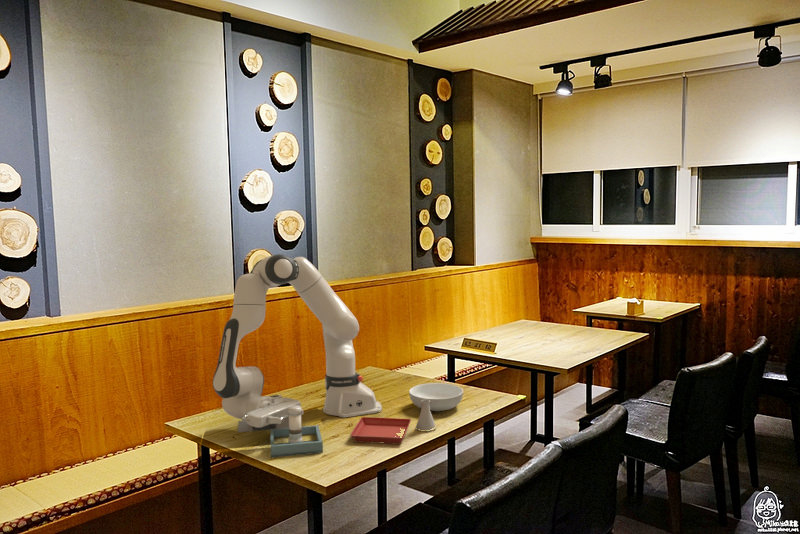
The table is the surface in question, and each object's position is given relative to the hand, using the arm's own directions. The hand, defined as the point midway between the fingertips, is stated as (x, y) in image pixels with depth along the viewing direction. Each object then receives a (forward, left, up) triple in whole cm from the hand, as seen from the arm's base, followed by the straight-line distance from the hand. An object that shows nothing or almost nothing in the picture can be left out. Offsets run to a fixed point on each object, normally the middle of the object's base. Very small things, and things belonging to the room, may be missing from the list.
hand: (292, 416), depth 201 cm
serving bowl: (-56, -26, -10) cm, 63 cm away
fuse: (-1, +1, -9) cm, 9 cm away
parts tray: (-1, +1, -9) cm, 10 cm away
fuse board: (+9, -20, -9) cm, 24 cm away
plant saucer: (-30, -2, -10) cm, 32 cm away
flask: (-46, -4, -10) cm, 47 cm away
